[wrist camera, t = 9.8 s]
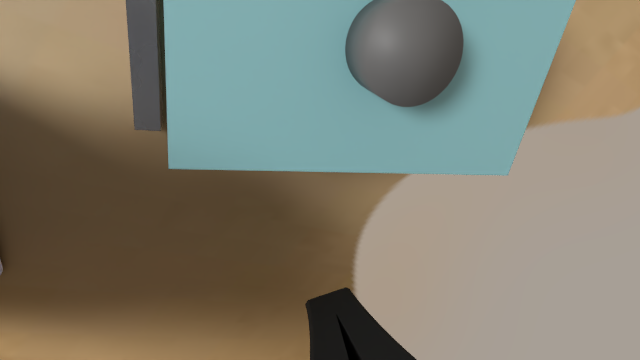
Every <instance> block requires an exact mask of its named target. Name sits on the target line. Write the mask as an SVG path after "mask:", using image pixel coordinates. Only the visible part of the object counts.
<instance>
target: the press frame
mask: <svg viewBox="0 0 640 360" xmlns="http://www.w3.org/2000/svg"><path fill="white" fill-rule="evenodd" d="M126 10H127V24H128V39H129V54H130V68H131V83H132V97H133V112H134V126H135V130H152V131H161V128H162V125H163V94H162V65H161V37H160V8H159V0H126Z"/></svg>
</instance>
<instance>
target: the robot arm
mask: <svg viewBox="0 0 640 360" xmlns="http://www.w3.org/2000/svg"><path fill="white" fill-rule="evenodd" d="M2 272H3V267H2V263H1V259H0V275H1V273H2ZM305 305H306V308H307V313H308V319H309V330H310V360H416V359H415V358H414V357H413V356H412V355H411V354H410V353H408V352H407V351H406V350H405V349H404V348H403V347H402V346H401V345H400V344H399V343H397V341H395V340H394V339H393V338H392V337H391V336H390V335H389V334H388V333H387V332H386V331H385V330H384V329H383V328H382V327H381V326H380V325H379V324H378V322H377V321H376V320H375V319H374V318H373V317H372V316H371V315H370V314H369V313H368V312H367V310H366V309H365V308H364V307H363V306H362V305H361V303H360V302H359V301H358V300H357V298H356V297H355V296H354V294H353V293H352V292H351V290H350V289H348V288H343V289H340V290H337V291H334V292H331V293H328V294H325V295H322V296H319V297H316V298H313V299H310V300H308V301H307V302H306V304H305Z"/></svg>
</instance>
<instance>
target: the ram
mask: <svg viewBox="0 0 640 360" xmlns="http://www.w3.org/2000/svg"><path fill="white" fill-rule="evenodd" d="M575 1H576V0H163V2H164V34H165V67H166V100H167V133H168V166H169V169H201V170H253V171H305V172H357V173H409V174H462V175H508V173H509V171H510V168H511V165H512V163H513V160H514V158H515V155H516V153H517V150H518V148H519V145H520V142H521V140H522V137H523V135H524V132H525V130H526V127H527V124H528V122H529V119H530V117H531V114H532V112H533V109H534V106H535V104H536V101H537V99H538V96H539V94H540V91H541V88H542V86H543V83H544V81H545V78H546V76H547V73H548V71H549V68H550V65H551V63H552V60H553V58H554V55H555V53H556V50H557V47H558V45H559V42H560V40H561V37H562V35H563V32H564V29H565V27H566V24H567V22H568V19H569V17H570V14H571V11H572V9H573V6H574V4H575Z"/></svg>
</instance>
